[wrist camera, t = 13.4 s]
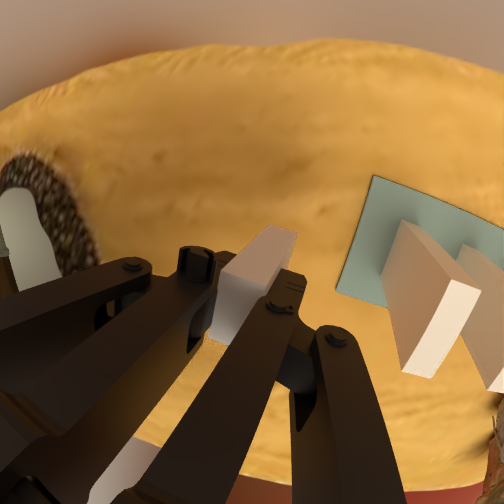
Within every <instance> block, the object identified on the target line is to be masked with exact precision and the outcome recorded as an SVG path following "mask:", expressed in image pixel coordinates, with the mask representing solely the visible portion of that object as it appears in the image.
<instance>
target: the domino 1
mask: <svg viewBox="0 0 504 504" xmlns="http://www.w3.org/2000/svg"><path fill="white" fill-rule="evenodd" d="M380 278H381V282H382V286H383V289H384V293H385V297H386V301H387V305H388V309H389V313H390V318H391V322H392V326H393V331H394V336H395V340H396V345H397V350H398V355H399V361H400V366H401V371H402V372H406V373H410V374H414V375H418V376H422V377H426V378H432V376H433V375H434V373H435V372H436V370H437V369H438V367H439V366H440V364H441V363H442V361H443V360H444V358H445V357H446V355H447V353H448V352H449V350H450V349H451V347H452V345H453V344H454V342H455V340H456V339H457V337H458V335H459V333H460V332H461V330H462V328H463V326H464V325H465V323H466V321H467V319H468V317H469V315H470V313H471V311H472V310H473V308H474V306H475V304H476V302H477V300H478V298H479V295H480V293H481V291H482V290H481V289H480V288H479V287H478V286H477V285H476V283H475V282H474V281H473V280H472V279H471V278H470V277H469V275H468V274H467V273H466V272H465V271H464V270H463V269H462V268H461V267H460V266H459V265H458V263H457V262H456V261H455V260H454V259H453V258H452V257H451V256H450V255H449V254H448V253H447V252H446V251H445V250H444V249H443V248H442V247H441V246H440V245H439V244H438V243H437V242H436V241H435V240H434V239H433V238H432V237H431V236H430V235H429V234H428V233H427V232H426V231H425V230H424V229H423V228H422V227H421V226H418V225H416V224H413V223H410V222H407V221H405V220H402V219H401V222H400V225H399V228H398V230H397V233H396V236H395V239H394V242H393V244H392V247H391V250H390V252H389V255H388V258H387V260H386V263H385V265H384V268H383V271H382V273H381V275H380Z"/></svg>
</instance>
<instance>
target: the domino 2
mask: <svg viewBox="0 0 504 504" xmlns="http://www.w3.org/2000/svg"><path fill="white" fill-rule="evenodd" d="M456 262H457V263H458V265H459V266H460V267H461V268H462V269H463V270H464V271H465V272H466V273H467V274H468V275H469V277H470V278H471V279H472V280H473V281H474V282H475V283H476V285H477V286H478V287H479V288H480V289H481V290H482V291H481V293H480V295H479V298H478V300H477V302H476V304H475V306H474V308H473V310H472V311H471V313H470V315H469V317H468V319H467V321H466V323H465V325H464V326H463V328H462V330H461V332H460V334H461V336H462V338H463V340H464V342H465V344H466V346H467V348H468V350H469V352H470V354H471V356H472V358H473V360H474V362H475V364H476V366H477V369H478V371H479V373H480V375H481V377H482V380H483V382H484V384H485V387H486V389H487V390H488V391H494V392H499V393H504V271H503V270H502V269H500V268H499V267H498V266H497V265H496V264H495V263H493V262H492V261H491V260H490V259H489V258H488V257H486V256H485V255H484V254H483V253H482V252H480V251H479V250H477V249H475V248H473V247H470V246H468V245H466V244H462V247H461V249H460V252H459V254H458V257H457V259H456Z"/></svg>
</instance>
